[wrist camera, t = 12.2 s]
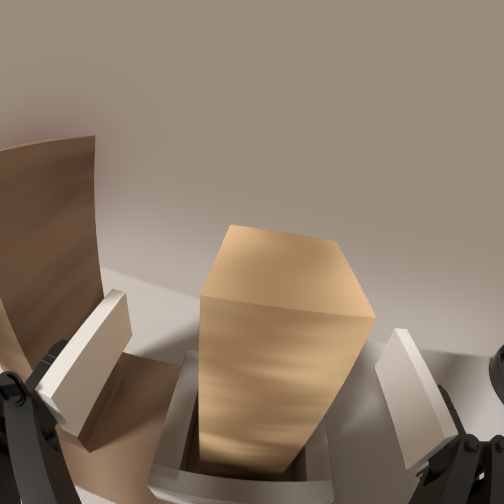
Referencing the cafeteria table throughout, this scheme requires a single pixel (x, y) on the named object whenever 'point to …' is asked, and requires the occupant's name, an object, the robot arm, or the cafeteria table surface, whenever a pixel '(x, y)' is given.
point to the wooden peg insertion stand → (128, 366)
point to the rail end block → (273, 348)
